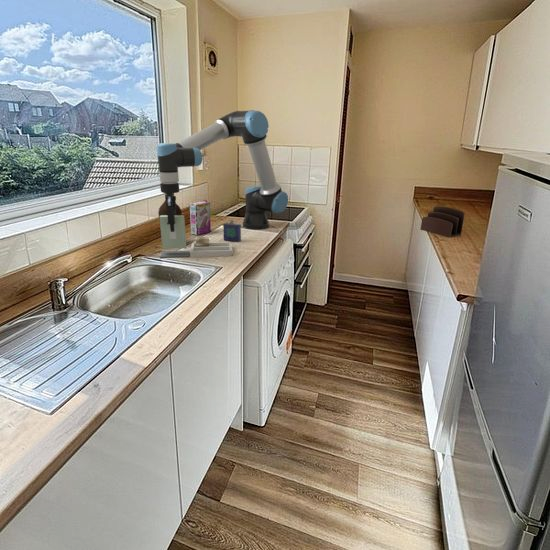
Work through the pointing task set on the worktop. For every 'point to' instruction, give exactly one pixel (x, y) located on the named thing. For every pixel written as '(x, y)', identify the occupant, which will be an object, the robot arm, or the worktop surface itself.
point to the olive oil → (164, 209)
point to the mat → (174, 254)
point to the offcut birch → (202, 241)
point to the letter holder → (443, 221)
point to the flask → (232, 232)
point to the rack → (212, 250)
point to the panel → (180, 232)
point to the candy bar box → (200, 218)
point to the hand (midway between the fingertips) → (173, 237)
